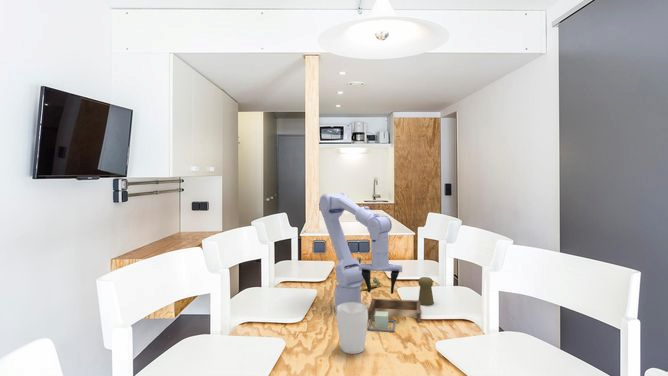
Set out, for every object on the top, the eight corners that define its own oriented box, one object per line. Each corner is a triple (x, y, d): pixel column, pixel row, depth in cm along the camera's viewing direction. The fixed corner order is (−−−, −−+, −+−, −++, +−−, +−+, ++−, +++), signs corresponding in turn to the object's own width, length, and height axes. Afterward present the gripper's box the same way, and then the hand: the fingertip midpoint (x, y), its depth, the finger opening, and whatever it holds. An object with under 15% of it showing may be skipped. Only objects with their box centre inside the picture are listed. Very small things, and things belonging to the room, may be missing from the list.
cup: (335, 342, 111) (334, 302, 110) (365, 340, 112) (364, 301, 111) (338, 357, 102) (337, 314, 101) (371, 355, 103) (370, 312, 102)
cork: (435, 310, 134) (434, 280, 134) (417, 309, 136) (417, 279, 135) (434, 304, 140) (433, 275, 140) (417, 304, 142) (416, 275, 141)
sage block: (375, 331, 117) (374, 315, 117) (376, 326, 121) (375, 311, 121) (387, 332, 116) (387, 316, 116) (388, 327, 120) (388, 311, 120)
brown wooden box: (368, 323, 124) (368, 310, 124) (372, 310, 136) (372, 298, 136) (420, 326, 120) (420, 313, 120) (420, 313, 132) (420, 300, 132)
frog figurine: (383, 291, 158) (379, 257, 157) (341, 296, 159) (337, 262, 159) (382, 284, 168) (377, 252, 167) (342, 289, 169) (338, 257, 168)
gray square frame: (367, 335, 115) (367, 329, 115) (370, 324, 123) (370, 318, 123) (394, 337, 113) (394, 330, 113) (395, 326, 121) (395, 320, 121)
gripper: (356, 254, 123) (357, 294, 124) (401, 255, 120) (401, 297, 120) (360, 249, 130) (361, 288, 131) (402, 251, 127) (403, 290, 127)
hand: (380, 292), depth 126 cm, fingers open, 7 cm apart
